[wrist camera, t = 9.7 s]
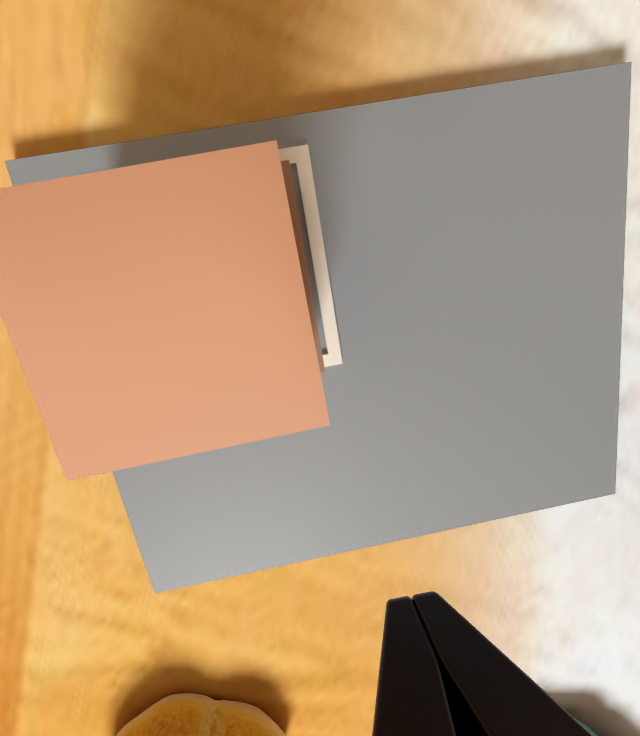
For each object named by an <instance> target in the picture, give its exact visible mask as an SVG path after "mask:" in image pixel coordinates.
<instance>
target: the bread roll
mask: <svg viewBox="0 0 640 736" xmlns="http://www.w3.org/2000/svg"><path fill="white" fill-rule="evenodd" d="M117 736H285V734H284V732H283V731H282V730H281V728H280V727H279V726H278V725H277V724H276V723H275V722H274V721H273V720H272V719H271V718H270V717H269V716H268V715H267V714H265V713H264V712H263V711H262V710H261V709H259V708H258V707H256V706H253V705H250V704H247V703H243V702H239V701H228V700H218V701H217V700H213V699H212V698H210V697H208V696H205V695H202V694H194V693H178V694H172V695H169V696H167V697H165V698H163V699H161V700H159V701H158V702H156V703H155V704H153V705H152V706H150V707H149V708H148V709H146V710H145V711H144V712H142V713H141V714H139V715H138V716H137V717H135V718H134V719H133V720H131V721H130V722H128V723H127V724H126V725H125V726H124V727H123V728H122V729H121V730H120V731H119V733H118V734H117Z"/></svg>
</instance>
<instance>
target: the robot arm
mask: <svg viewBox="0 0 640 736" xmlns="http://www.w3.org/2000/svg"><path fill="white" fill-rule="evenodd" d="M372 736H593V735H592V734H591V733H590V732H589V731H588V730H587V729H586V728H585V727H583V726H582V725H581V724H580V723H579V722H578V721H577V720H576V719H575V718H574V717H572V716H571V715H570V714H569V713H568V712H567V711H566V710H565V709H564V708H563V707H562V706H560V705H559V704H558V703H557V702H556V701H555V700H554V699H553V698H552V697H551V696H549V695H548V694H547V693H546V692H545V691H544V690H543V689H542V688H541V687H540V686H538V685H537V684H536V683H535V682H534V681H533V680H532V679H531V678H530V677H529V676H527V675H526V674H525V673H524V672H523V671H522V670H521V669H520V668H519V667H518V666H516V665H515V664H514V663H513V662H512V661H511V660H510V659H509V658H508V657H507V656H506V655H504V654H503V653H502V652H501V651H500V650H499V649H498V648H497V647H496V646H495V645H493V644H492V643H491V642H490V641H489V640H488V639H487V638H486V637H485V636H484V635H482V634H481V633H480V632H479V631H478V630H477V629H476V628H475V627H474V626H473V625H471V624H470V623H469V622H468V621H467V620H466V619H465V618H464V617H463V616H462V615H461V614H459V613H458V612H457V611H456V610H455V609H454V608H453V607H452V606H451V605H450V604H448V603H447V602H446V601H445V600H444V599H443V598H442V597H441V596H440V595H439V594H437V593H436V592H426V593H421V594H416V595H414V596H413V597H412V599H411V598H410V597H408V596H405V597H400V598H395V599H390V600H388V602H387V605H386V613H385V623H384V632H383V641H382V650H381V660H380V669H379V678H378V687H377V696H376V706H375V715H374V724H373V733H372Z"/></svg>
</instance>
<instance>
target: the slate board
mask: <svg viewBox="0 0 640 736" xmlns="http://www.w3.org/2000/svg"><path fill="white" fill-rule="evenodd" d="M630 88H631V62H627V63H621V64H615V65H608V66H602V67H596V68H589V69H583V70H577V71H571V72H564V73H558V74H552V75H545V76H539V77H533V78H526V79H520V80H514V81H507V82H501V83H495V84H488V85H482V86H476V87H469V88H463V89H457V90H450V91H444V92H438V93H431V94H425V95H419V96H412V97H406V98H400V99H393V100H387V101H381V102H375V103H368V104H362V105H356V106H349V107H343V108H337V109H330V110H324V111H318V112H311V113H305V114H299V115H292V116H286V117H280V118H273V119H267V120H261V121H254V122H248V123H242V124H235V125H229V126H223V127H216V128H210V129H204V130H197V131H191V132H185V133H179V134H172V135H166V136H160V137H153V138H147V139H141V140H134V141H128V142H122V143H115V144H109V145H103V146H96V147H90V148H84V149H77V150H71V151H65V152H58V153H52V154H46V155H39V156H33V157H27V158H20V159H14V160H8V161H5V163H6V166H7V169H8V172H9V175H10V178H11V181H12V184H13V186H18V185H24V184H29V183H35V182H41V181H46V180H52V179H58V178H64V177H69V176H75V175H81V174H86V173H92V172H98V171H104V170H109V169H115V168H121V167H126V166H132V165H138V164H144V163H149V162H155V161H161V160H166V159H172V158H178V157H183V156H189V155H195V154H201V153H206V152H212V151H218V150H223V149H229V148H235V147H241V146H246V145H252V144H258V143H263V142H269V141H275V140H277V145H278V151H279V156H280V161H284V160H289V163H290V169H291V175H292V180H293V186H294V192H295V198H296V204H297V210H298V215H299V221H300V227H301V233H302V239H303V245H304V251H305V256H306V262H307V268H308V274H309V280H310V286H311V291H312V297H313V303H314V309H315V315H316V321H317V326H318V332H319V338H320V344H321V350H322V356H323V361H324V367H325V372H321V373H320V374H321V379H322V384H323V390H324V395H325V400H326V406H327V411H328V416H329V422H330V425H329V426H325V427H320V428H315V429H311V430H306V431H301V432H296V433H292V434H287V435H282V436H277V437H273V438H268V439H263V440H259V441H254V442H249V443H244V444H240V445H235V446H230V447H225V448H221V449H216V450H211V451H207V452H202V453H197V454H192V455H188V456H183V457H178V458H173V459H169V460H164V461H159V462H155V463H150V464H145V465H140V466H136V467H131V468H126V469H121V470H117V471H112V472H113V475H114V478H115V480H116V483H117V486H118V489H119V492H120V495H121V498H122V501H123V503H124V506H125V509H126V512H127V515H128V518H129V521H130V524H131V527H132V529H133V532H134V535H135V538H136V541H137V544H138V547H139V550H140V552H141V555H142V558H143V561H144V564H145V567H146V570H147V573H148V576H149V578H150V581H151V584H152V587H153V590H154V593H159V592H163V591H168V590H173V589H177V588H182V587H186V586H191V585H196V584H200V583H205V582H210V581H214V580H219V579H223V578H228V577H233V576H237V575H242V574H246V573H251V572H256V571H260V570H265V569H270V568H274V567H279V566H283V565H288V564H293V563H297V562H302V561H306V560H311V559H316V558H320V557H325V556H329V555H334V554H339V553H343V552H348V551H353V550H357V549H362V548H366V547H371V546H376V545H380V544H385V543H389V542H394V541H399V540H403V539H408V538H412V537H417V536H422V535H426V534H431V533H436V532H440V531H445V530H449V529H454V528H459V527H463V526H468V525H472V524H477V523H482V522H486V521H491V520H495V519H500V518H505V517H509V516H514V515H519V514H523V513H528V512H532V511H537V510H542V509H546V508H551V507H555V506H560V505H565V504H569V503H574V502H578V501H583V500H588V499H592V498H597V497H602V496H606V495H611V494H615V486H616V460H617V433H618V407H619V380H620V354H621V327H622V300H623V274H624V247H625V221H626V194H627V168H628V141H629V115H630Z"/></svg>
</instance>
